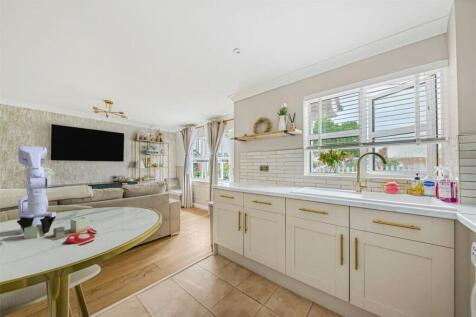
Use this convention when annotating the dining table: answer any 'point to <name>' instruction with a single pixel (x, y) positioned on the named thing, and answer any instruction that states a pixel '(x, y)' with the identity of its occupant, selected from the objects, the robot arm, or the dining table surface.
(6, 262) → the dining table surface
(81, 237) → the tracker holder
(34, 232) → the sleeve
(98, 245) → the dining table surface
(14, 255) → the dining table surface
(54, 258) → the dining table surface
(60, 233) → the pin board
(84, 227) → the seated sleeve
